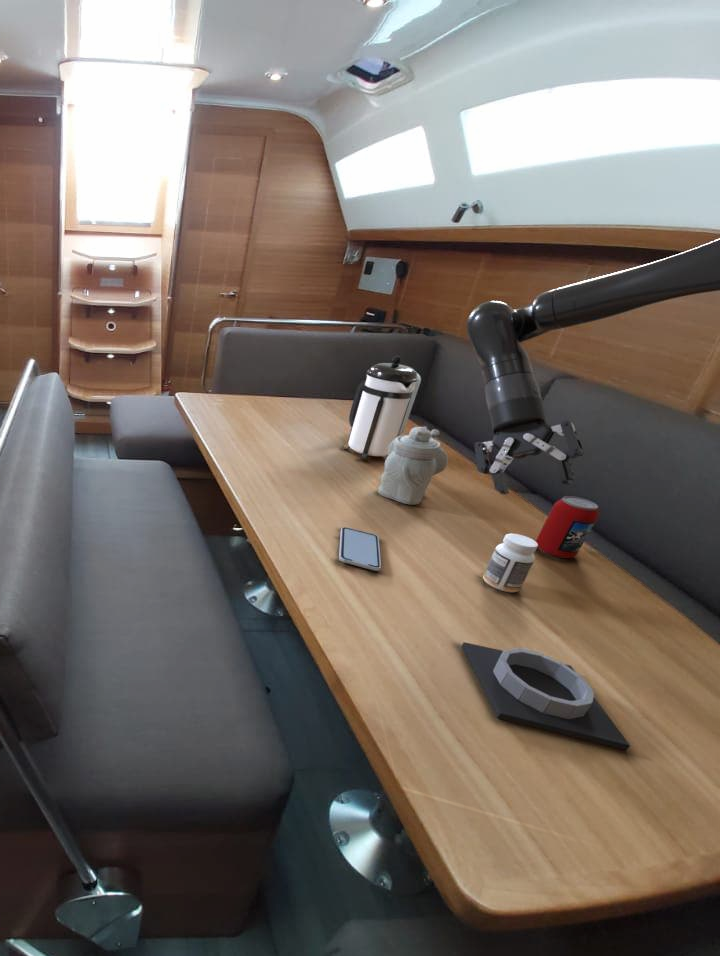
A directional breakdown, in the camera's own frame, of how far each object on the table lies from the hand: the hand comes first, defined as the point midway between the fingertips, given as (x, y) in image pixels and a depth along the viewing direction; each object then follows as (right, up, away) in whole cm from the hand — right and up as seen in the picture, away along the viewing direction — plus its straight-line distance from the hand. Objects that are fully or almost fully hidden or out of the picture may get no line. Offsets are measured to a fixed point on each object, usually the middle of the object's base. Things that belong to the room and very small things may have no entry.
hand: (534, 488), depth 87 cm
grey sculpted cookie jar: (+5, -2, +42) cm, 42 cm away
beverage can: (+21, -14, +19) cm, 31 cm away
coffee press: (+8, +10, +67) cm, 68 cm away
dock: (-15, -29, -16) cm, 36 cm away
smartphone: (-22, -13, +16) cm, 30 cm away
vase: (+23, +17, +82) cm, 87 cm away
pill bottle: (0, -18, +7) cm, 20 cm away
